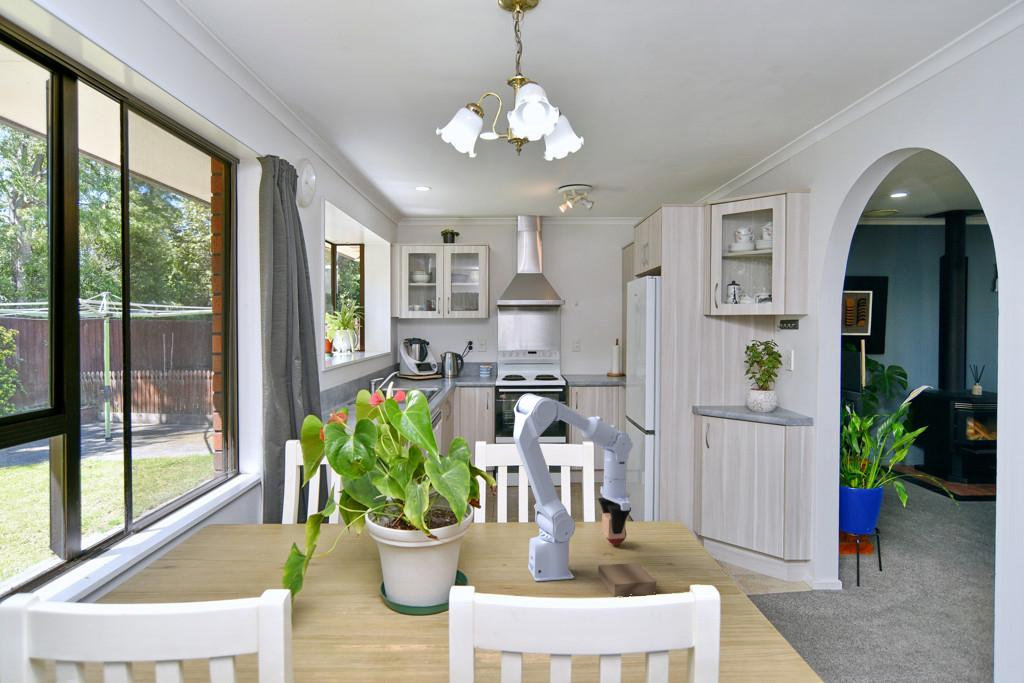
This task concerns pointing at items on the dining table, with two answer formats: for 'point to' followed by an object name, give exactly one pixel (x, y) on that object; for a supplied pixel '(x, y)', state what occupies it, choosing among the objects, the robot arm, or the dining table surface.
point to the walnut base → (626, 579)
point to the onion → (617, 540)
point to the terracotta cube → (610, 527)
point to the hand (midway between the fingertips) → (613, 529)
